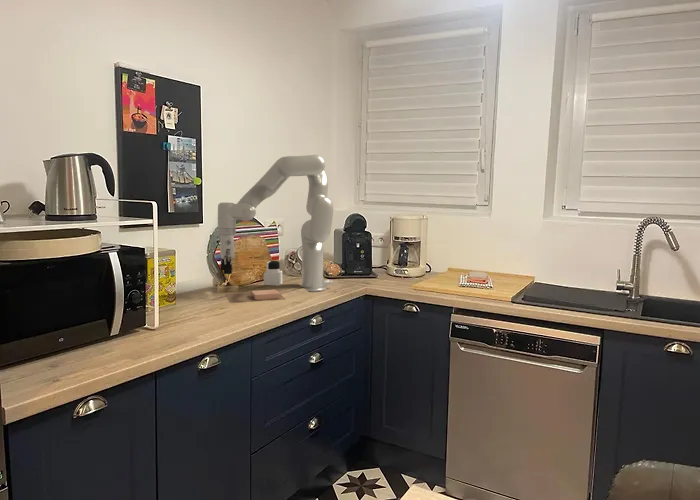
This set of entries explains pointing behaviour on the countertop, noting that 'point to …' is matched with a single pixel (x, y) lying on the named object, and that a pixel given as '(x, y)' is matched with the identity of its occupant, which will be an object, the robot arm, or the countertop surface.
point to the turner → (228, 289)
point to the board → (246, 298)
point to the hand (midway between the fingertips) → (226, 271)
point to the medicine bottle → (273, 273)
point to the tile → (265, 294)
